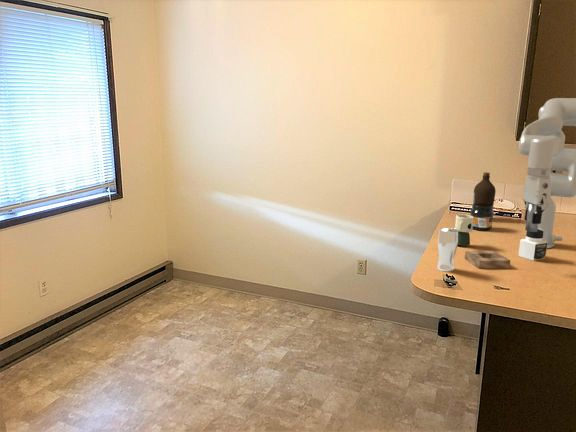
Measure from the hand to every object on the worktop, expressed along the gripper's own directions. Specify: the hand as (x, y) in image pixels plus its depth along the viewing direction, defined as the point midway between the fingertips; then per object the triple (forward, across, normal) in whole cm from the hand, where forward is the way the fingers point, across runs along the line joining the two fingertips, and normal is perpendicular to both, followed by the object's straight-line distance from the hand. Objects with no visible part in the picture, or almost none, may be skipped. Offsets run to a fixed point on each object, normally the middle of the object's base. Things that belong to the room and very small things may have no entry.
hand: (532, 221), depth 182 cm
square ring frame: (+18, +6, +13) cm, 23 cm away
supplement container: (+20, +58, -10) cm, 62 cm away
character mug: (+19, +30, +12) cm, 37 cm away
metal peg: (+3, 0, 0) cm, 3 cm away
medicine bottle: (+19, +12, -9) cm, 24 cm away
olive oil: (+20, +77, -20) cm, 82 cm away
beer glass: (+18, 0, +32) cm, 36 cm away
